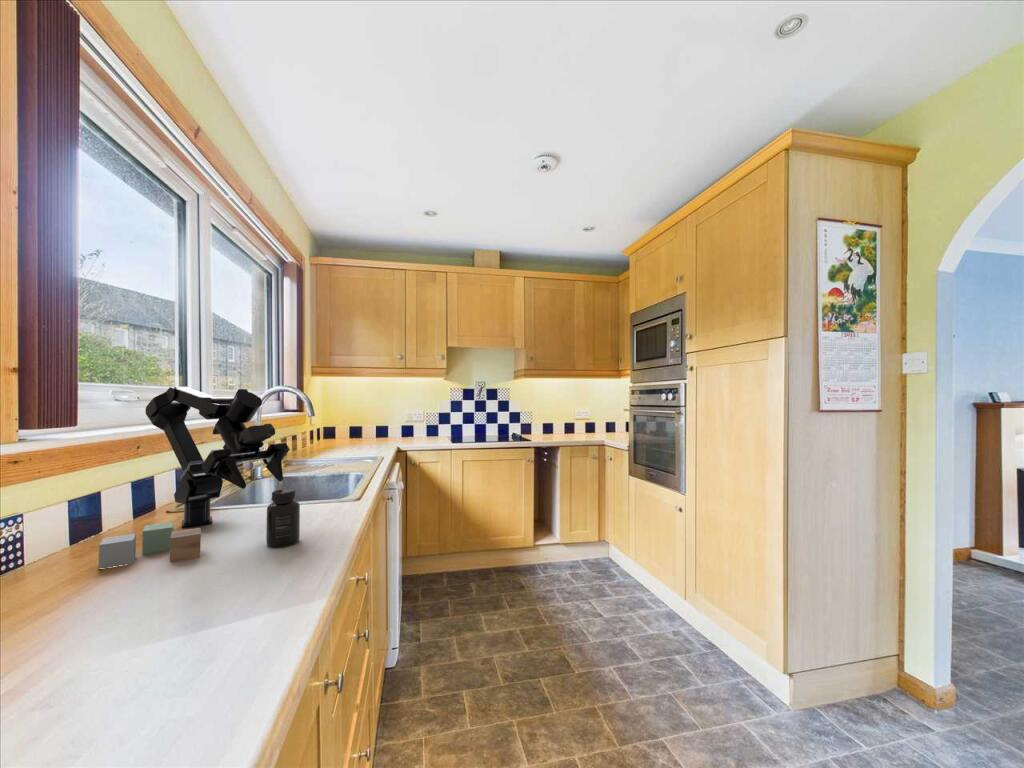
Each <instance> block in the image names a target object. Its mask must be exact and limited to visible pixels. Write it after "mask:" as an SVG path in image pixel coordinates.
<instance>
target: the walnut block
mask: <svg viewBox="0 0 1024 768" xmlns="http://www.w3.org/2000/svg"><path fill="white" fill-rule="evenodd" d="M201 533H202V531H201V527H196V528H191V529H190V528H188V529H183V530H182V529H181V530H175V531H174V530H173V532H172V533H171V540H170V550H169V551H170V552H169V555H170V556H169V563H175V562H181V561H186V560H192V559H197V558H199V559H200V558H201V545H202V542H201V540H202V539H201V538H202V537H201V535H202V534H201Z"/></svg>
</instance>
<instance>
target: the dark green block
mask: <svg viewBox="0 0 1024 768" xmlns="http://www.w3.org/2000/svg"><path fill="white" fill-rule="evenodd" d="M172 532H174V521H170V522H161V523H153V524H147V525H144V527H143V530H142V549H141V552H142V553H141V554H142V555H147V554H154V553H155V554H156V553H159V552H167V551H170V540H171V533H172ZM166 550H167V551H166Z"/></svg>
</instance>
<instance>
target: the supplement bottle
mask: <svg viewBox="0 0 1024 768" xmlns="http://www.w3.org/2000/svg"><path fill="white" fill-rule="evenodd" d="M271 501H272V502H271V503H270V504H269V505H268V506H267V507H266V525H265V526H266V529H265V530H266V534H265V535H266V536H265V538H266V540H265V542H266V543H265V544H266V545H267V546H268V547H270V548H284V547H289V546H293V545H295V544H297V543H298V542H300V536H301V535H300V534H301V533H300V531H301V530H300V527H301V526H300V525H301V516H300V515H301V507H300V506H301V505H300V503H299V502H298V501H297V500H296V489H294V488H287V489H286V488H284V489H278V490H273V491H271Z"/></svg>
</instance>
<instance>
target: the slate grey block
mask: <svg viewBox="0 0 1024 768" xmlns="http://www.w3.org/2000/svg"><path fill="white" fill-rule="evenodd" d="M136 543H137V533H129V534H121V535H116V536H108V537H103V538H102V540H101V541H100V543H99V545H98V569H99V568H107V567H113V566H119V565H125V564H133V565H134V562H135V560H136V554H137V553H136V552H137V551H136V548H137V547H136V546H137V544H136ZM134 559H135V560H134ZM133 561H134V562H133Z"/></svg>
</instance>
